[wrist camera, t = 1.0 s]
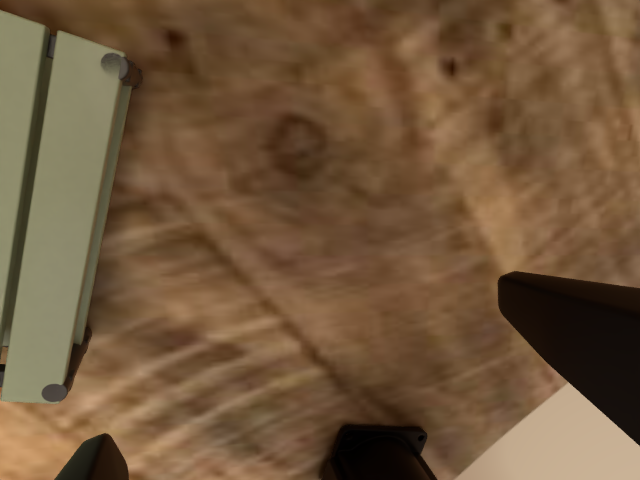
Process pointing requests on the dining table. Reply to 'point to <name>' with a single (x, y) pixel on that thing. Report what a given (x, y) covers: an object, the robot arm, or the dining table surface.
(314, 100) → the dining table surface
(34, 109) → the rack
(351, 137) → the dining table surface
